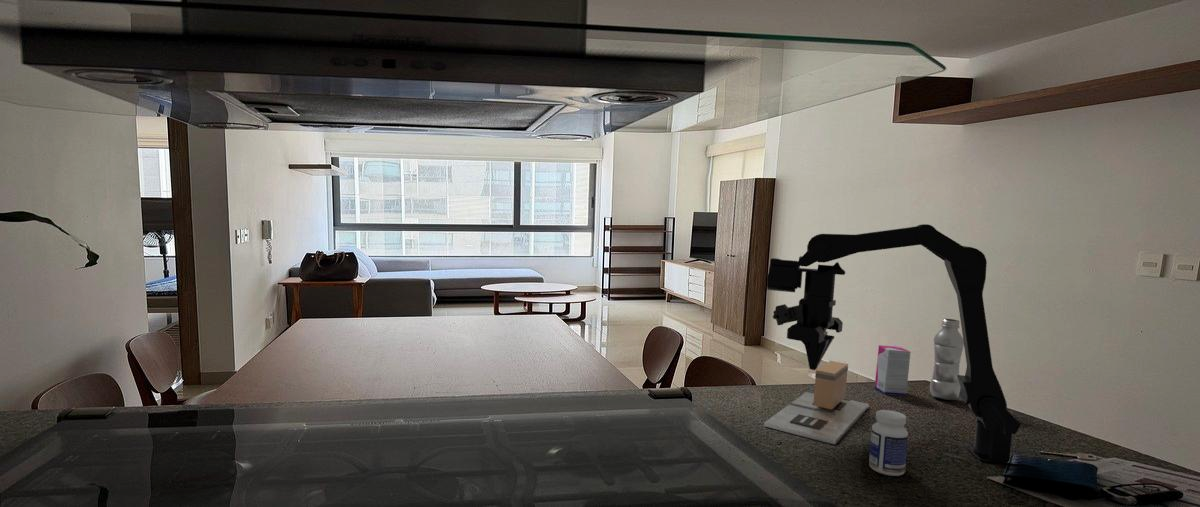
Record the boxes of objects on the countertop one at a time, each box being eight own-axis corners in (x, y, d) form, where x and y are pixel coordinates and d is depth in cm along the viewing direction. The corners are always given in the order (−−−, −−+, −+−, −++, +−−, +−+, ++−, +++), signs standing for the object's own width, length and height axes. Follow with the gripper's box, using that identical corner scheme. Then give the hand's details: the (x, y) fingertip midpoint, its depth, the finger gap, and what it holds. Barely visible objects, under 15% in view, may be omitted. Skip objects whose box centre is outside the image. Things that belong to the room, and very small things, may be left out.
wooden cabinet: (845, 397, 138) (848, 363, 138) (832, 409, 128) (834, 373, 128) (827, 393, 141) (830, 360, 140) (813, 405, 131) (815, 370, 130)
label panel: (868, 407, 136) (868, 402, 136) (834, 444, 112) (835, 439, 112) (807, 393, 144) (807, 389, 144) (764, 426, 120) (764, 421, 120)
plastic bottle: (965, 403, 143) (972, 323, 142) (937, 402, 143) (944, 321, 142) (949, 395, 149) (957, 318, 148) (923, 394, 149) (930, 316, 148)
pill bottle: (909, 470, 102) (914, 414, 101) (899, 480, 98) (904, 422, 97) (874, 459, 106) (879, 406, 105) (863, 468, 102) (868, 413, 101)
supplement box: (907, 395, 147) (911, 351, 146) (883, 394, 147) (887, 349, 147) (896, 388, 153) (900, 345, 152) (873, 387, 153) (877, 344, 152)
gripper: (793, 286, 132) (788, 354, 133) (764, 293, 117) (758, 370, 118) (845, 292, 126) (839, 364, 127) (821, 300, 110) (815, 381, 112)
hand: (812, 369), depth 121 cm, fingers closed
